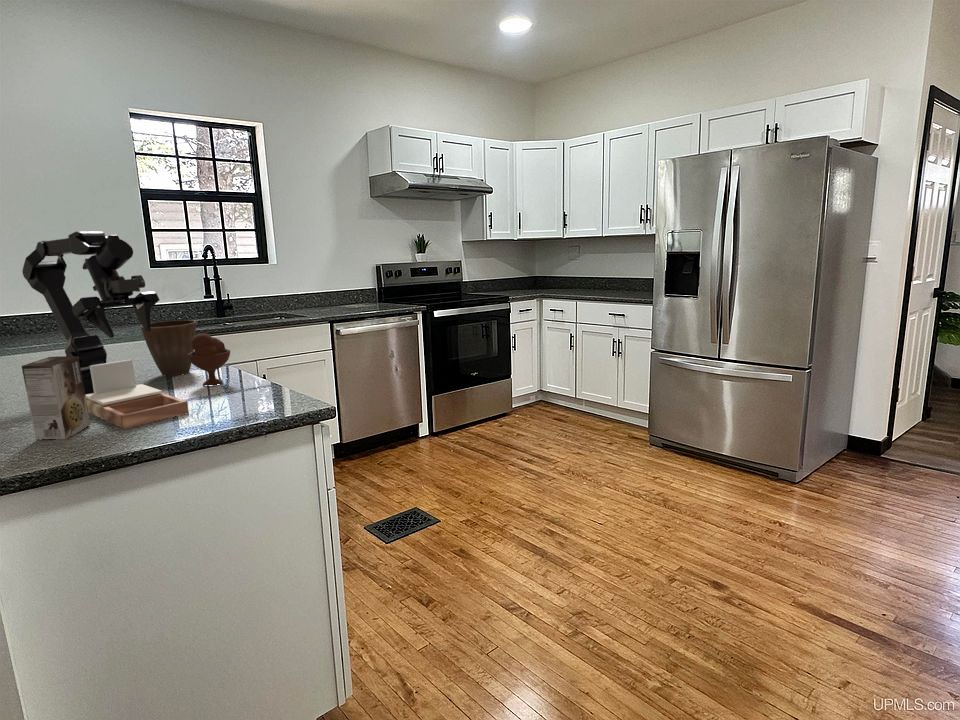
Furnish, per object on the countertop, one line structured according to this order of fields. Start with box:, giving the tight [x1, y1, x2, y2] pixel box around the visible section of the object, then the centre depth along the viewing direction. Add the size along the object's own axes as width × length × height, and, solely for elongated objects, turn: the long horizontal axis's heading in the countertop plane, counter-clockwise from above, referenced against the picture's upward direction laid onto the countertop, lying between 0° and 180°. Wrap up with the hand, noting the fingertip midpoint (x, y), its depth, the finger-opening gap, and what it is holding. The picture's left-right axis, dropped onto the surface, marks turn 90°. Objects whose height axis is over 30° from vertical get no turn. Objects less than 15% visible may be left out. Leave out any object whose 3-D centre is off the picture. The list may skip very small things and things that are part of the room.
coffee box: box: [21, 355, 92, 441], centre depth 121 cm, size 9×6×16 cm
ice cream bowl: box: [187, 333, 231, 385], centre depth 161 cm, size 11×11×15 cm
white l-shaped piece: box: [85, 358, 163, 405], centre depth 139 cm, size 12×13×8 cm
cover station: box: [86, 392, 190, 430], centre depth 136 cm, size 24×14×3 cm, turn 52°
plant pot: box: [140, 319, 197, 377], centre depth 175 cm, size 15×15×16 cm
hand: (131, 334), depth 141 cm, fingers open, 9 cm apart
